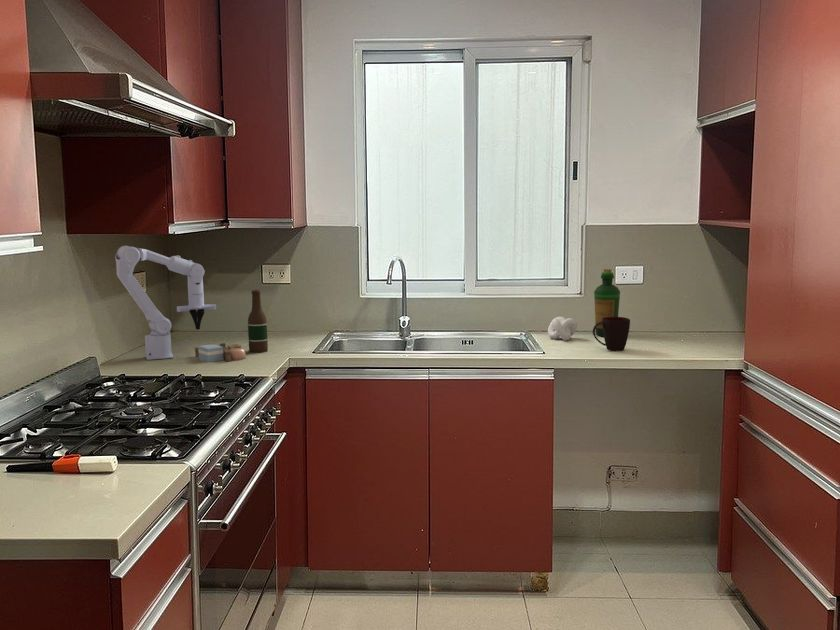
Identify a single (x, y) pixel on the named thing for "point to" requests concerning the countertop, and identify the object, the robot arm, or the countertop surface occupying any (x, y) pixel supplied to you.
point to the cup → (614, 332)
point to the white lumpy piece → (562, 328)
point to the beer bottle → (257, 326)
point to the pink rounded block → (237, 354)
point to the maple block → (233, 346)
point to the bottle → (606, 300)
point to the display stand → (225, 352)
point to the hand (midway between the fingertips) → (197, 329)
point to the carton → (210, 352)
